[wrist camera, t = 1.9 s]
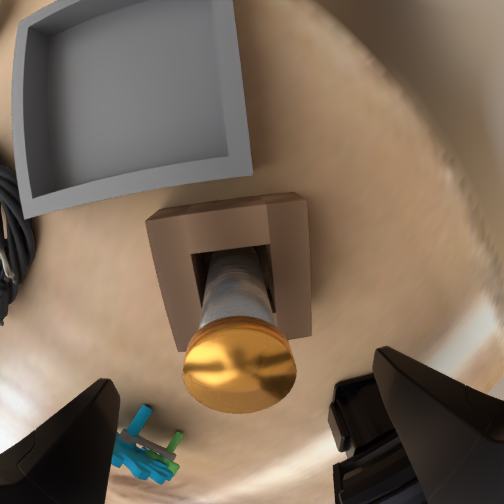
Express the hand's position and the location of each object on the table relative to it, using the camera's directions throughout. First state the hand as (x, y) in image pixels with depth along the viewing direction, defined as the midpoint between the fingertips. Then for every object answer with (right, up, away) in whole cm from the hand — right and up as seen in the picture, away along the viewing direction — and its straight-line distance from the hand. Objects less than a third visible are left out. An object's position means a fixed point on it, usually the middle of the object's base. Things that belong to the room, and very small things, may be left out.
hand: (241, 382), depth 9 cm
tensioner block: (-1, +3, +9) cm, 10 cm away
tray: (-7, +14, +5) cm, 17 cm away
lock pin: (-1, +3, +9) cm, 10 cm away
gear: (-11, -12, +14) cm, 22 cm away
